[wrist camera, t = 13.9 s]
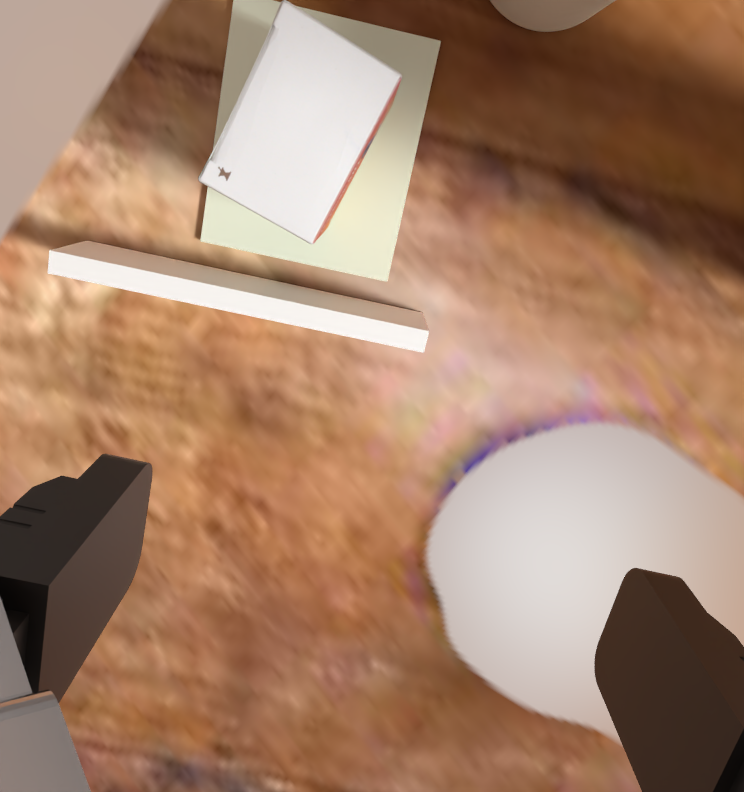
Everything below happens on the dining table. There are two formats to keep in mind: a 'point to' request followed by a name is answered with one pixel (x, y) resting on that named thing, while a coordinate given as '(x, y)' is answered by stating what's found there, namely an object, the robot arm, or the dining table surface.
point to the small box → (301, 124)
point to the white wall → (240, 293)
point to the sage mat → (378, 173)
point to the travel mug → (549, 12)
